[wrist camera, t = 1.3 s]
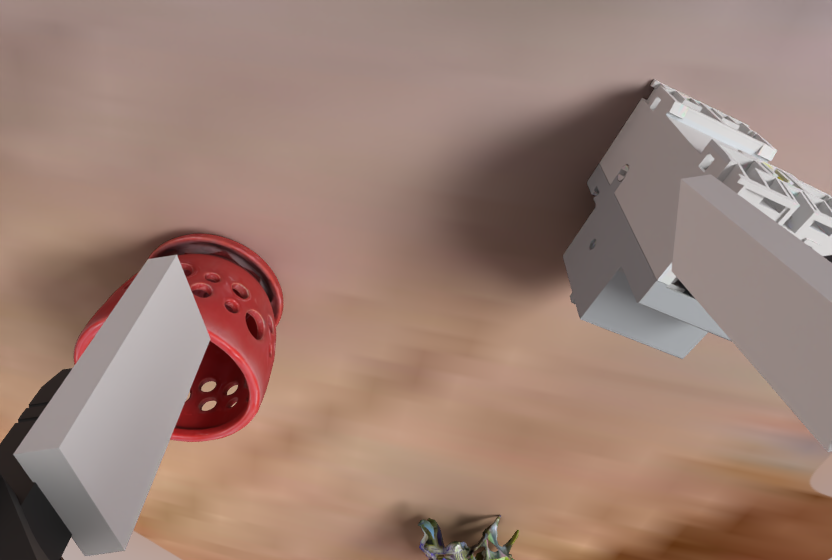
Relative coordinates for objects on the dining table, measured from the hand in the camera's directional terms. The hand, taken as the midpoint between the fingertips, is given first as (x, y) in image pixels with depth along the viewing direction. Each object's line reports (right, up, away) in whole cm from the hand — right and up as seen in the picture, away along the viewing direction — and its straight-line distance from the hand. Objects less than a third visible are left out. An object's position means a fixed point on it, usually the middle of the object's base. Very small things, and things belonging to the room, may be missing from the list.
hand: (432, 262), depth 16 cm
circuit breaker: (+16, +6, +28) cm, 33 cm away
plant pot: (-17, -1, +35) cm, 39 cm away
